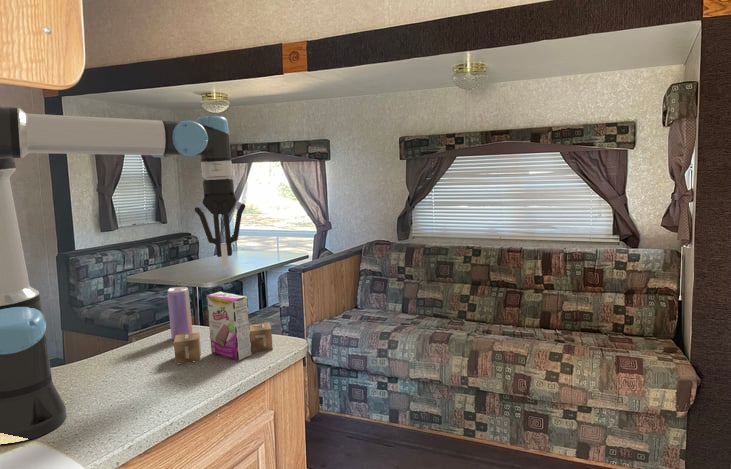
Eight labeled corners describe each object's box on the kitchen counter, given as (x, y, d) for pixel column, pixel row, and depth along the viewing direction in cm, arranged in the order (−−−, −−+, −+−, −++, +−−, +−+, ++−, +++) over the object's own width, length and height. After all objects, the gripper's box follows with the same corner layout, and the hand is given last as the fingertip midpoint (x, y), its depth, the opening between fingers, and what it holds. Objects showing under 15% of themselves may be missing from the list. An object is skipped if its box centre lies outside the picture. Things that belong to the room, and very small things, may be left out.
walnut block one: (175, 364, 140) (173, 341, 139) (177, 356, 146) (175, 334, 145) (199, 361, 142) (197, 339, 141) (201, 353, 148) (199, 331, 147)
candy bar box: (210, 354, 147) (205, 295, 145) (224, 348, 151) (220, 290, 149) (238, 361, 140) (233, 300, 138) (252, 355, 144) (248, 295, 142)
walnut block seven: (250, 353, 147) (248, 331, 146) (249, 345, 153) (247, 324, 152) (272, 350, 148) (271, 328, 147) (271, 342, 154) (269, 321, 153)
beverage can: (180, 343, 157) (175, 292, 154) (167, 339, 160) (162, 290, 158) (197, 336, 162) (192, 287, 159) (183, 333, 165) (179, 285, 163)
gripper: (190, 180, 134) (199, 274, 137) (244, 177, 137) (251, 268, 140) (192, 179, 141) (200, 268, 144) (243, 176, 144) (250, 263, 148)
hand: (225, 268), depth 142 cm, fingers closed
